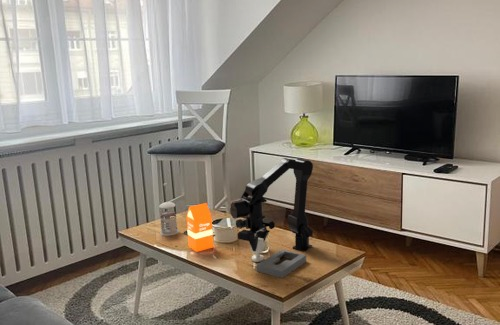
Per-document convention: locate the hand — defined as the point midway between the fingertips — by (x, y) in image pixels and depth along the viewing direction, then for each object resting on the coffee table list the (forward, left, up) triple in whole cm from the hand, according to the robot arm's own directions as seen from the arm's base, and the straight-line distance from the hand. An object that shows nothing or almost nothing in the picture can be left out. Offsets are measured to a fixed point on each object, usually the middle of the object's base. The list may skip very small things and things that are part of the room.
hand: (257, 249), depth 213 cm
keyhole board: (0, +12, -5) cm, 13 cm away
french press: (-6, -59, -5) cm, 60 cm away
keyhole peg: (0, 0, -4) cm, 4 cm away
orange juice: (+1, -31, -5) cm, 31 cm away
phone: (-11, -43, -6) cm, 45 cm away
